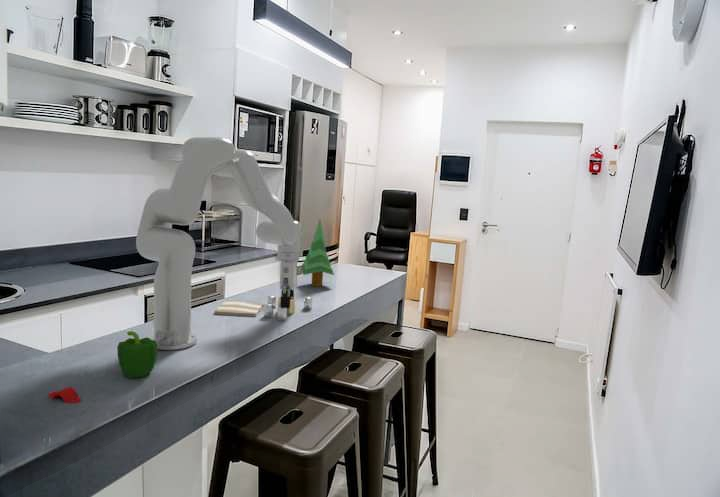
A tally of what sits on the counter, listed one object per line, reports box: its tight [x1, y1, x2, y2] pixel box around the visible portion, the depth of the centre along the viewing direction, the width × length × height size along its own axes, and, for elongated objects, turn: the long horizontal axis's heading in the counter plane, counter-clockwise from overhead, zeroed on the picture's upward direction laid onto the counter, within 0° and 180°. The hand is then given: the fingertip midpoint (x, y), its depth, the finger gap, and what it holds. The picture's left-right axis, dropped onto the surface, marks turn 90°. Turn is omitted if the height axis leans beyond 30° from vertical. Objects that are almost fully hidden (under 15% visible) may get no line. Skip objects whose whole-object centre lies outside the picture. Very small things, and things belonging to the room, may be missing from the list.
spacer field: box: [263, 293, 313, 322], centre depth 177 cm, size 23×16×4 cm
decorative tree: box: [300, 218, 335, 287], centre depth 220 cm, size 14×16×30 cm
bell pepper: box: [117, 330, 158, 379], centre depth 117 cm, size 8×8×10 cm
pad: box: [213, 300, 265, 317], centre depth 176 cm, size 14×14×1 cm
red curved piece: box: [48, 386, 82, 404], centre depth 104 cm, size 8×3×2 cm, turn 68°
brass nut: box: [277, 296, 296, 315], centre depth 177 cm, size 5×6×5 cm
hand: (287, 304), depth 178 cm, fingers open, 9 cm apart
